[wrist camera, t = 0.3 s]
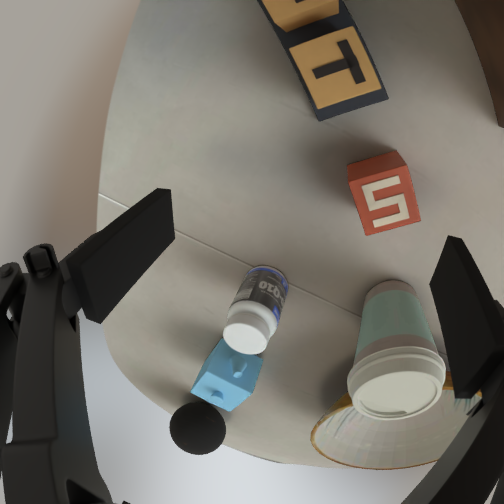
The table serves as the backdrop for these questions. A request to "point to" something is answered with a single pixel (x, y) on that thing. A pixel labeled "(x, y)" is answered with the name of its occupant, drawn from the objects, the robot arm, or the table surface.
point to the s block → (383, 192)
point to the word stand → (488, 44)
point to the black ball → (197, 428)
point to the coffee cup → (395, 356)
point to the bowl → (391, 433)
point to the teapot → (227, 377)
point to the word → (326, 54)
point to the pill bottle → (256, 310)
